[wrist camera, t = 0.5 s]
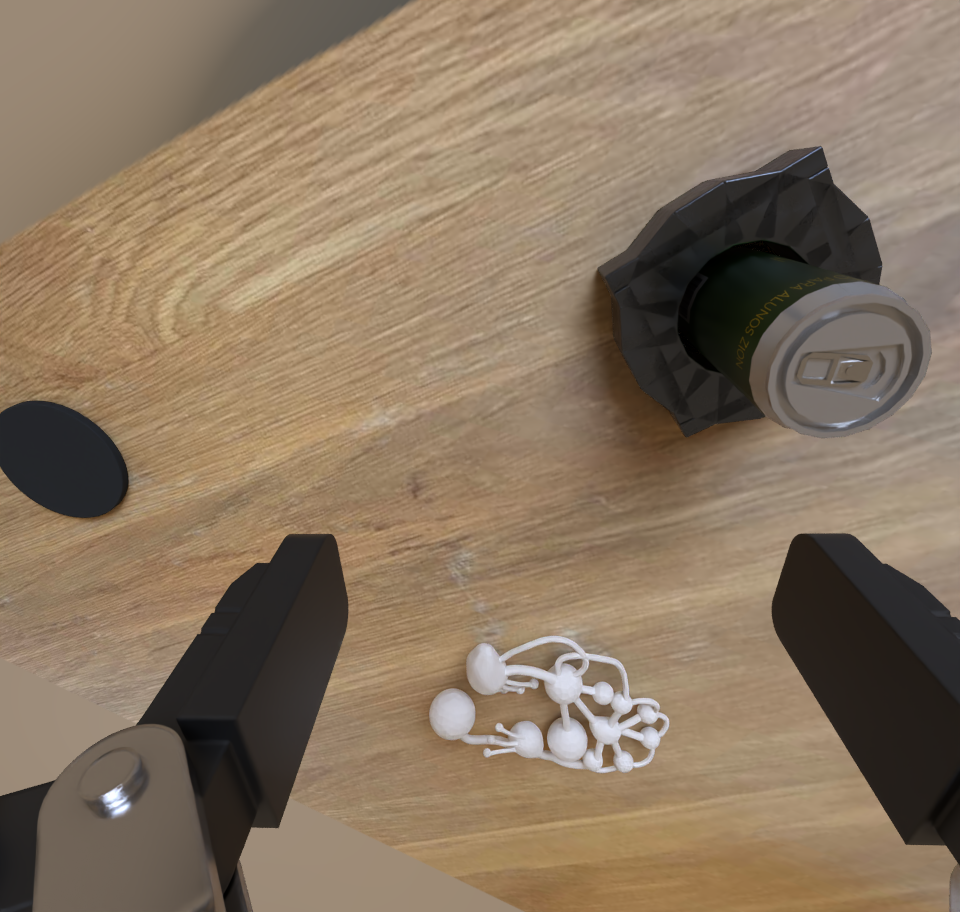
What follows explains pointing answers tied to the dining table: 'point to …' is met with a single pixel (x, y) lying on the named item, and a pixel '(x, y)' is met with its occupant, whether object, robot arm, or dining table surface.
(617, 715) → the tangled rod sculpture
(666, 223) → the dark faceted ring
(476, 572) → the dining table surface
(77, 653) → the dining table surface
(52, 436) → the coaster
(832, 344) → the beer can
